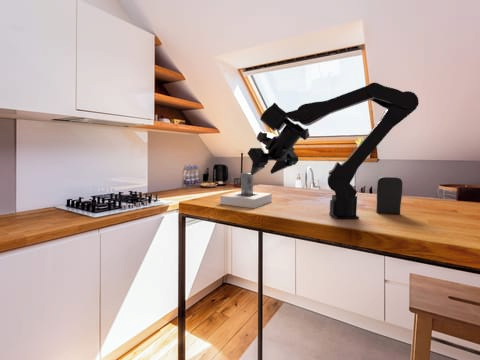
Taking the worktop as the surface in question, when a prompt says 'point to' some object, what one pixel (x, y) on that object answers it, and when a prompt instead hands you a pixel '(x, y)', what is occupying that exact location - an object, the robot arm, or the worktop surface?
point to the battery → (389, 195)
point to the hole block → (246, 199)
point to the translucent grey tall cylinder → (246, 184)
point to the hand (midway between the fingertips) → (261, 173)
